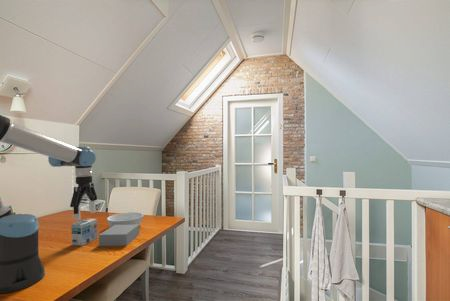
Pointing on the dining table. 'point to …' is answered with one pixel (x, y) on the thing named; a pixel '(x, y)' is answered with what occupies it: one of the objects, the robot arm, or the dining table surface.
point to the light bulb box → (84, 231)
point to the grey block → (119, 235)
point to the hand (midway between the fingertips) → (85, 216)
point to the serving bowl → (125, 219)
